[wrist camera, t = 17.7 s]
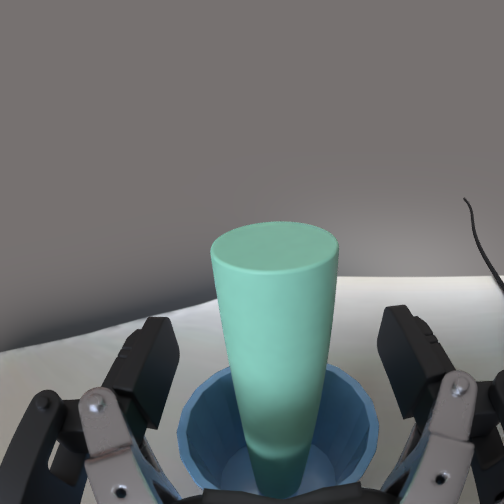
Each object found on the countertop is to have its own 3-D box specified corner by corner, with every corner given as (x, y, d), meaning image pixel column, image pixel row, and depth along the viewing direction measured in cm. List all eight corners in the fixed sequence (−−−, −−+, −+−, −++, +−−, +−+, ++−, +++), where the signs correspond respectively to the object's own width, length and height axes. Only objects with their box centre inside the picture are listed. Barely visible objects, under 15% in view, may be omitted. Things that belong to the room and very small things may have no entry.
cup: (289, 418, 18) (292, 333, 14) (364, 483, 12) (415, 420, 8) (195, 468, 14) (150, 399, 10) (261, 553, 8) (248, 552, 4)
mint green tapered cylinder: (283, 456, 14) (283, 214, 8) (310, 483, 12) (364, 242, 6) (247, 477, 13) (190, 240, 6) (273, 506, 11) (257, 289, 4)
